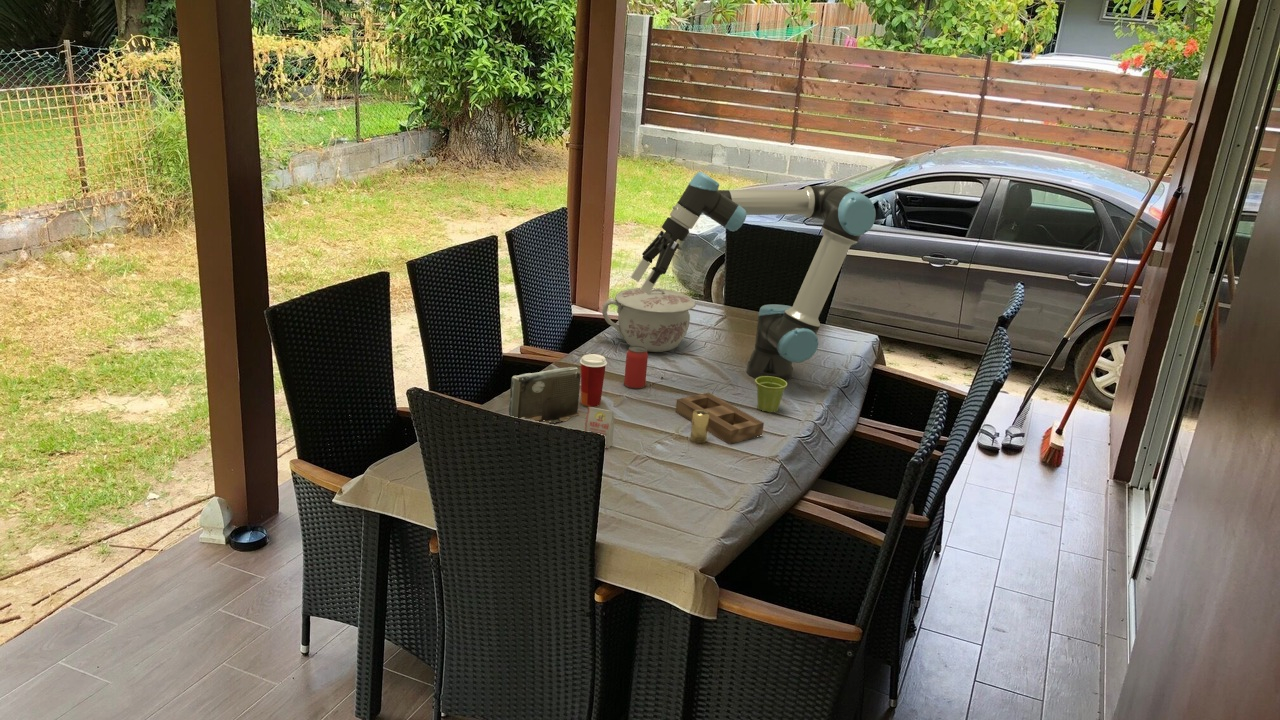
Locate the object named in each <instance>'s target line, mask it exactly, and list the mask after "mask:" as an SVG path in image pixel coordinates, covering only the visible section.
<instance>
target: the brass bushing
mask: <svg viewBox="0 0 1280 720" xmlns="http://www.w3.org/2000/svg"><path fill="white" fill-rule="evenodd" d="M708 421H709V412H707V411H705V410H695V411H693V418H692V422H691V429H690V438H689V440H690V441H691V442H692V443H694V442H695V443H694V444H704V443H707V437H708V431H707V430H708Z"/></svg>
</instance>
